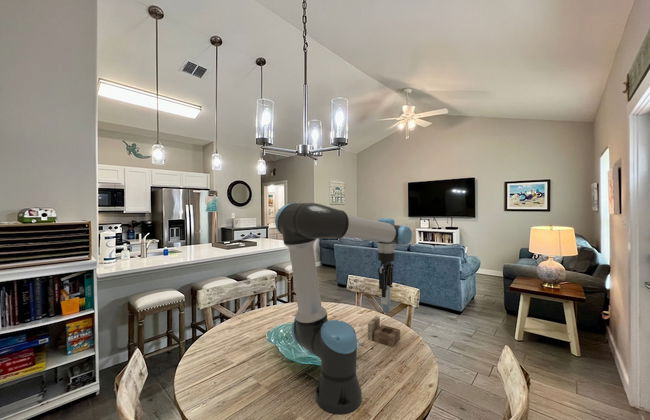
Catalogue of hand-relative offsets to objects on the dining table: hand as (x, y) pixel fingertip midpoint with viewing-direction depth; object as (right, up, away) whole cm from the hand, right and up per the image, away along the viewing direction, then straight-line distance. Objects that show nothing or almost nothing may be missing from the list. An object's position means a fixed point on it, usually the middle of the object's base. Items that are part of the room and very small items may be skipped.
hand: (385, 302), depth 127 cm
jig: (+1, -18, 0) cm, 18 cm away
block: (+1, -17, 0) cm, 17 cm away
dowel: (0, -4, 0) cm, 4 cm away
